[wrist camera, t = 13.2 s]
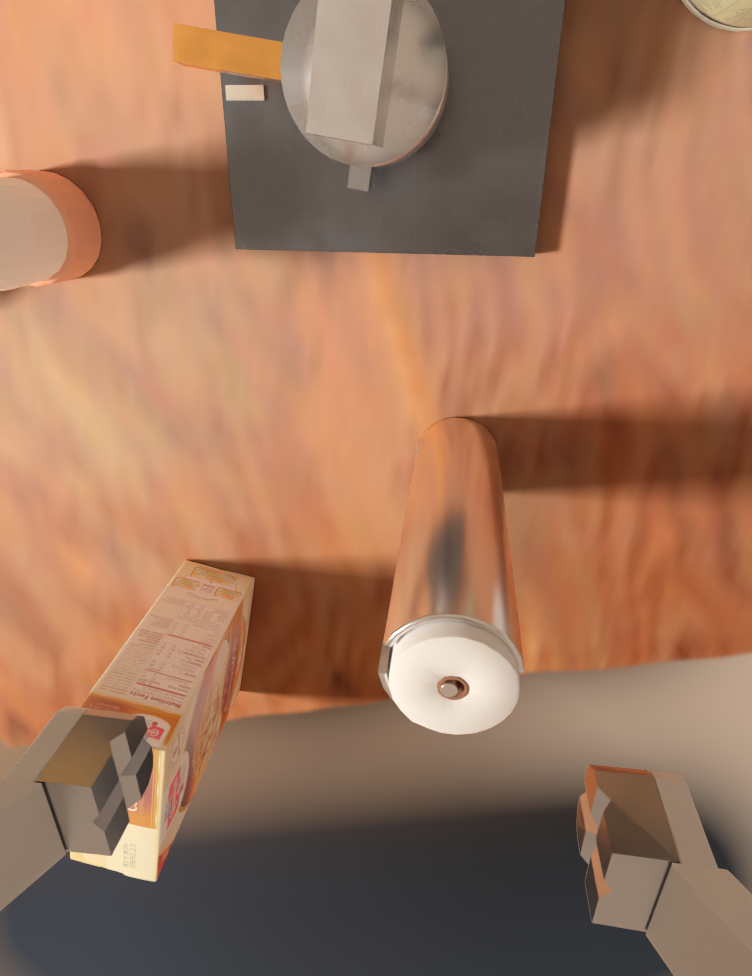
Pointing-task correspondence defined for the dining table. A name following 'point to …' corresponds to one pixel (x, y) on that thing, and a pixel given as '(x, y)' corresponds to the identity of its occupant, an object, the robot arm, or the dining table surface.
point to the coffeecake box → (175, 701)
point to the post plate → (424, 175)
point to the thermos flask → (454, 589)
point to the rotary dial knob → (344, 75)
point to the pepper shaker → (44, 230)
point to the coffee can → (723, 13)
